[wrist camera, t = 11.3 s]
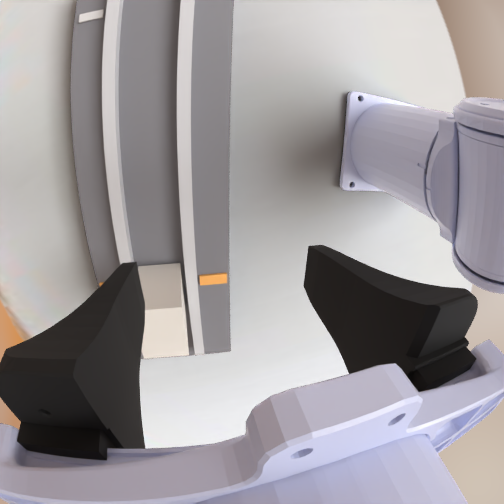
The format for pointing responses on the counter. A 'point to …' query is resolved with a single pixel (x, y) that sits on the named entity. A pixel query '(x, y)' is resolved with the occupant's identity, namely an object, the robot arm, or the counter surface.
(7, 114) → the counter surface
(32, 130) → the counter surface
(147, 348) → the fader tab
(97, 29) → the fader track
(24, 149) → the counter surface
